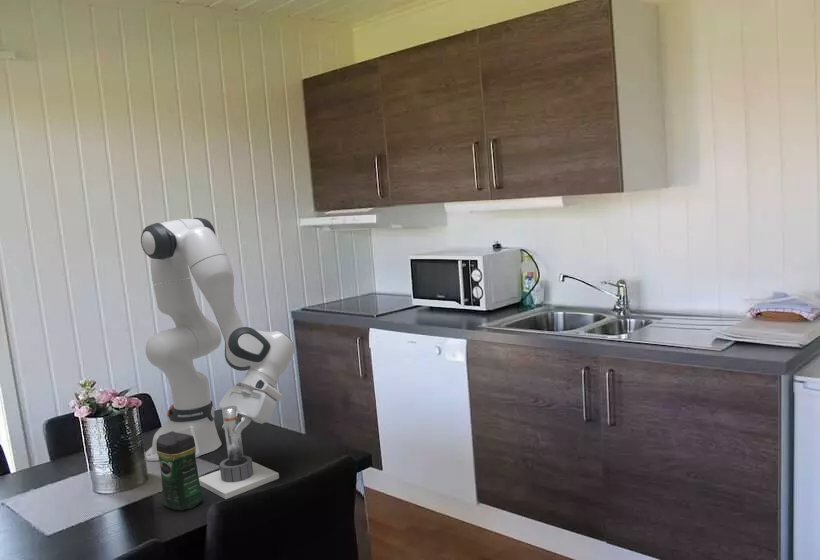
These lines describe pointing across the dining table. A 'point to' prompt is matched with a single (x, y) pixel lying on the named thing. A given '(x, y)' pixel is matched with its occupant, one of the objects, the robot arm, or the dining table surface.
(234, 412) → the silver peg
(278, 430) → the dining table surface
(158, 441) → the coffee jar
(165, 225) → the robot arm
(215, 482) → the collar plate
